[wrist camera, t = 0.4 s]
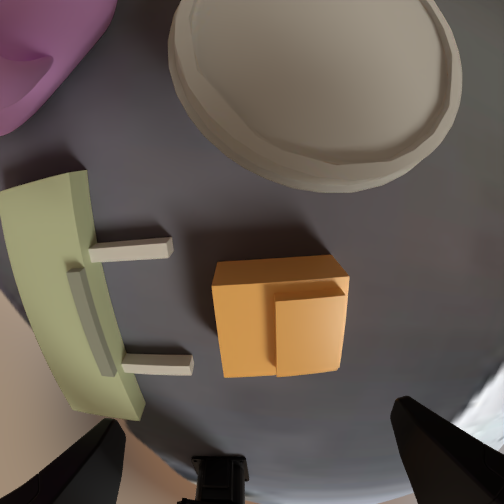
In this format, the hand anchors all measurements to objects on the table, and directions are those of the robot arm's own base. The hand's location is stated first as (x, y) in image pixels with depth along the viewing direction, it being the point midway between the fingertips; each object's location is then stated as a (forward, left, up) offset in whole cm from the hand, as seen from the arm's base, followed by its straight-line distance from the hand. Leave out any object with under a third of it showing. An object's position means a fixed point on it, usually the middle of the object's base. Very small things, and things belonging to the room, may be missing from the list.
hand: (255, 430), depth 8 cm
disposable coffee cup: (+11, -3, -14) cm, 18 cm away
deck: (-3, +12, -14) cm, 18 cm away
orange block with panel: (-3, -2, -14) cm, 14 cm away
